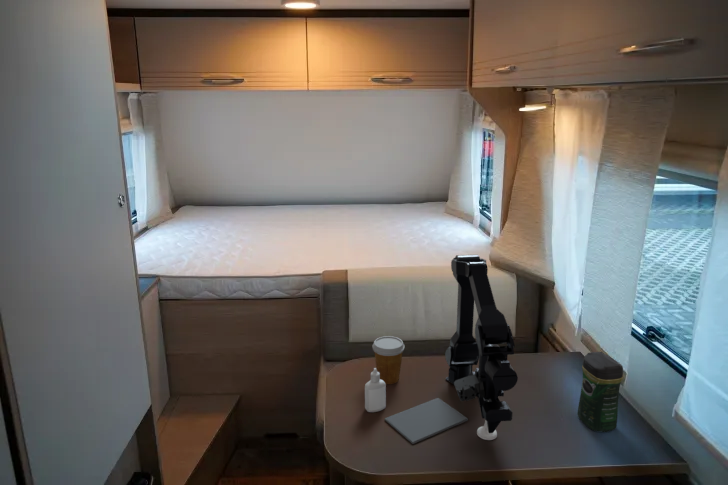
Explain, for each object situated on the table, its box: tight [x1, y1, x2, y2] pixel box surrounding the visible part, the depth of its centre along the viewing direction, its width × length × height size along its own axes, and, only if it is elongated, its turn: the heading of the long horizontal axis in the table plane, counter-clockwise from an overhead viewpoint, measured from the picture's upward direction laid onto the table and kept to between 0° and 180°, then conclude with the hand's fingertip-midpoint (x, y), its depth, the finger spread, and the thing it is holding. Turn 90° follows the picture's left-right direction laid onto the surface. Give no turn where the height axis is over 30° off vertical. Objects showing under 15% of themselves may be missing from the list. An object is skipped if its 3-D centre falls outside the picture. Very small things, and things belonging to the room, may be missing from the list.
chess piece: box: [476, 401, 498, 441], centre depth 135 cm, size 5×5×10 cm
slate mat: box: [384, 397, 468, 445], centre depth 142 cm, size 18×12×1 cm, turn 122°
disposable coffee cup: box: [371, 335, 405, 385], centre depth 161 cm, size 10×10×12 cm
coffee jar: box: [576, 351, 624, 433], centre depth 138 cm, size 10×8×19 cm
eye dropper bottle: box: [364, 367, 387, 413], centre depth 146 cm, size 4×6×12 cm
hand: (487, 425), depth 135 cm, fingers open, 6 cm apart
